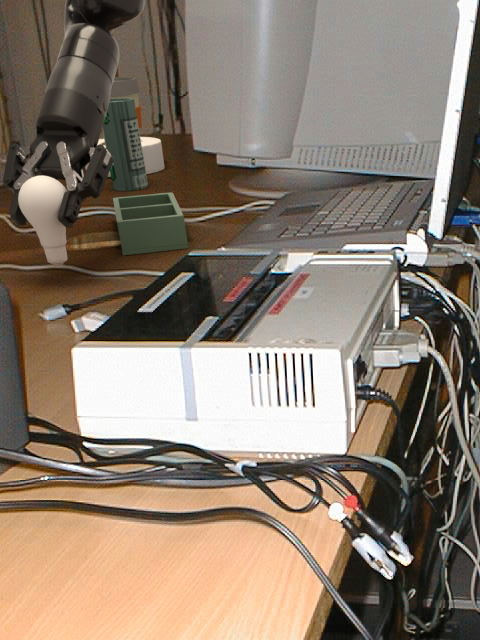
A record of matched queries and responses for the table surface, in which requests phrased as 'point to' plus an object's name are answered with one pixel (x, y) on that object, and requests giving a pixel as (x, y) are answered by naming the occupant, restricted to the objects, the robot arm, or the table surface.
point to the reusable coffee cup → (126, 94)
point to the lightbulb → (45, 215)
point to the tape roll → (147, 154)
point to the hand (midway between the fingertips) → (40, 222)
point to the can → (124, 145)
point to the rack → (150, 223)
